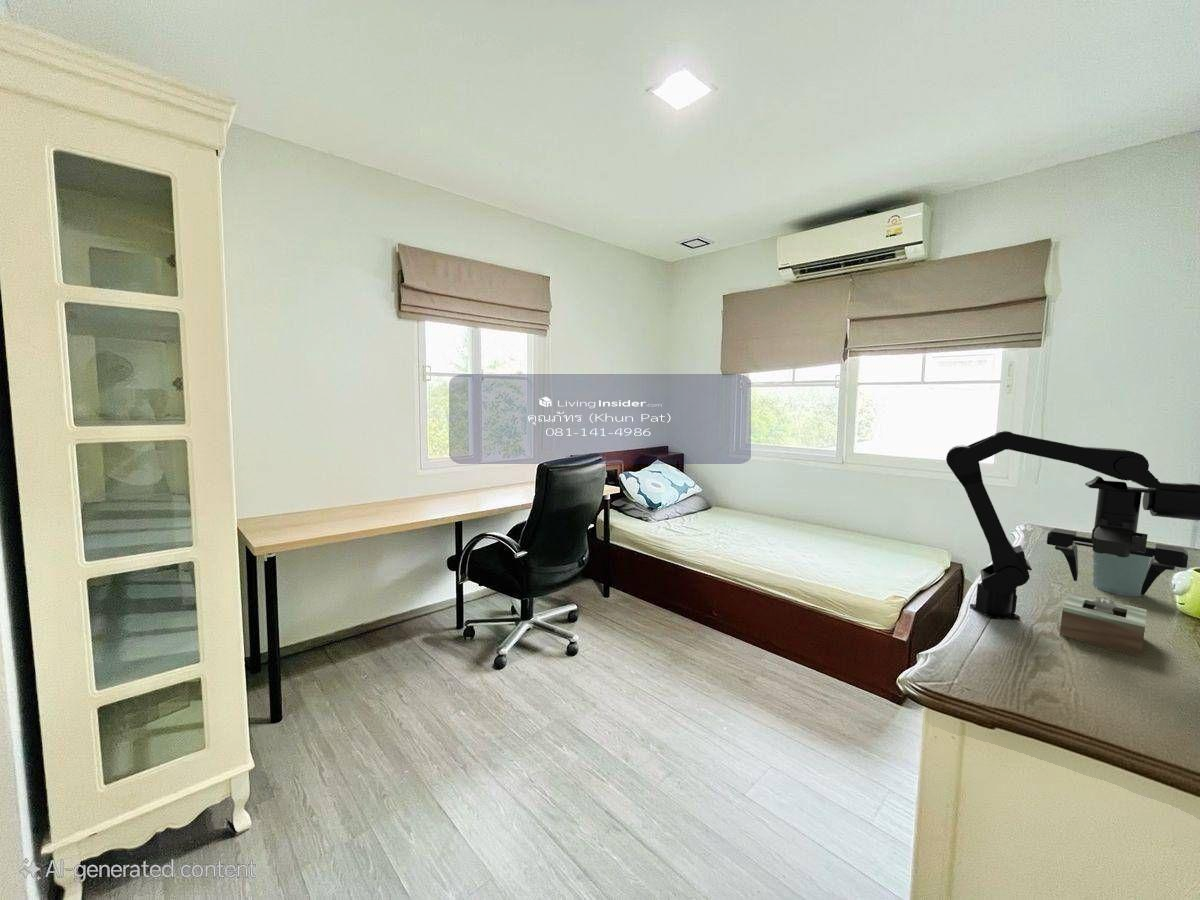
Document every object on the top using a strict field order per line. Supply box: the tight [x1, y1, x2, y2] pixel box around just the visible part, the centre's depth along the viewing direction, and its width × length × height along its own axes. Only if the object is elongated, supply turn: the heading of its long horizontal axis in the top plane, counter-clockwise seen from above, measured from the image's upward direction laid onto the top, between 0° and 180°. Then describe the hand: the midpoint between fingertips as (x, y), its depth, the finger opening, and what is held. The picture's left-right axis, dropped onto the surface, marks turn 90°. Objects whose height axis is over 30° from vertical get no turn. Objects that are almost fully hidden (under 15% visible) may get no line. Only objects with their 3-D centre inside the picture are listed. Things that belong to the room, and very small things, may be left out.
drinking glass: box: [1092, 550, 1152, 597], centre depth 120 cm, size 10×10×12 cm
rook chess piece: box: [1093, 595, 1116, 614], centre depth 95 cm, size 4×4×8 cm
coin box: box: [1059, 592, 1147, 658], centre depth 95 cm, size 12×11×6 cm
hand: (1107, 587), depth 94 cm, fingers open, 9 cm apart
